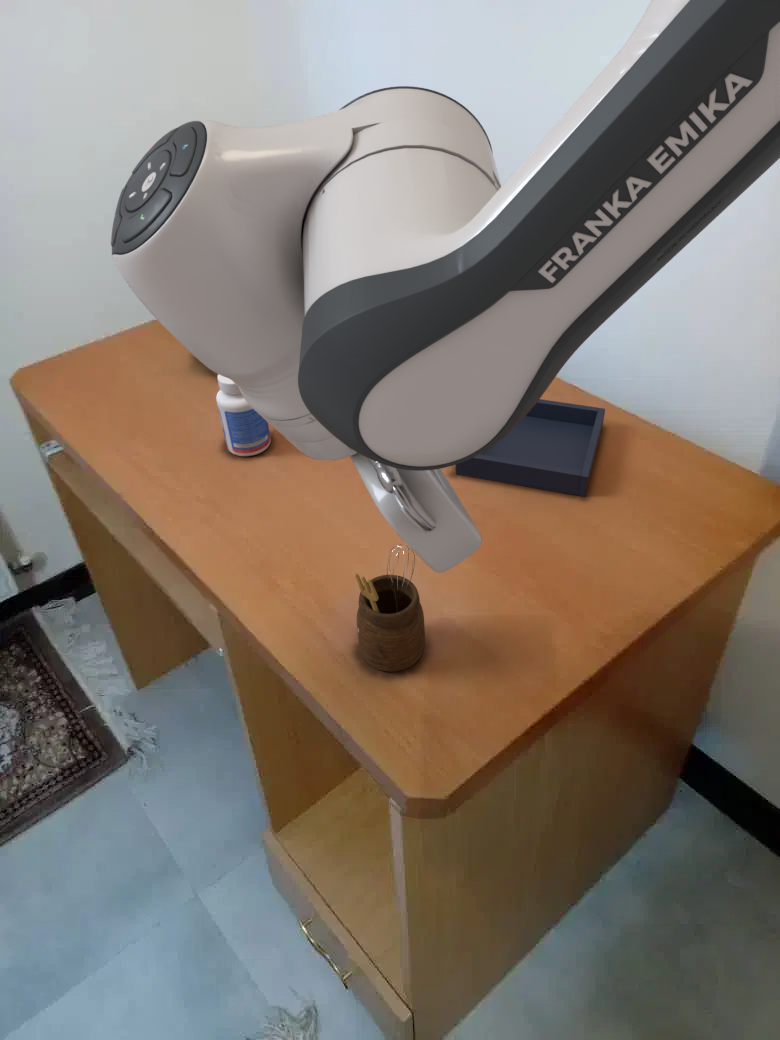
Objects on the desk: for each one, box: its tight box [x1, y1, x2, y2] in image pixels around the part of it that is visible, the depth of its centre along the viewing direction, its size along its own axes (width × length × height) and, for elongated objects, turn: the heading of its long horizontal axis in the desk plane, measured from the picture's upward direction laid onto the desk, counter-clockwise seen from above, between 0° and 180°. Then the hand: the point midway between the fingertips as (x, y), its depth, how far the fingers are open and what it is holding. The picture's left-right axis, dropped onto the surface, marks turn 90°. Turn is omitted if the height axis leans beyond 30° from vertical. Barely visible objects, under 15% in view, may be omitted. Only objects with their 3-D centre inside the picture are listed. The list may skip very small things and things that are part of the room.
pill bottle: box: [215, 374, 272, 457], centre depth 93 cm, size 6×5×10 cm
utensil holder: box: [354, 544, 426, 672], centre depth 67 cm, size 6×6×12 cm
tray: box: [455, 398, 606, 497], centre depth 92 cm, size 15×14×3 cm
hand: (433, 490), depth 58 cm, fingers open, 8 cm apart
